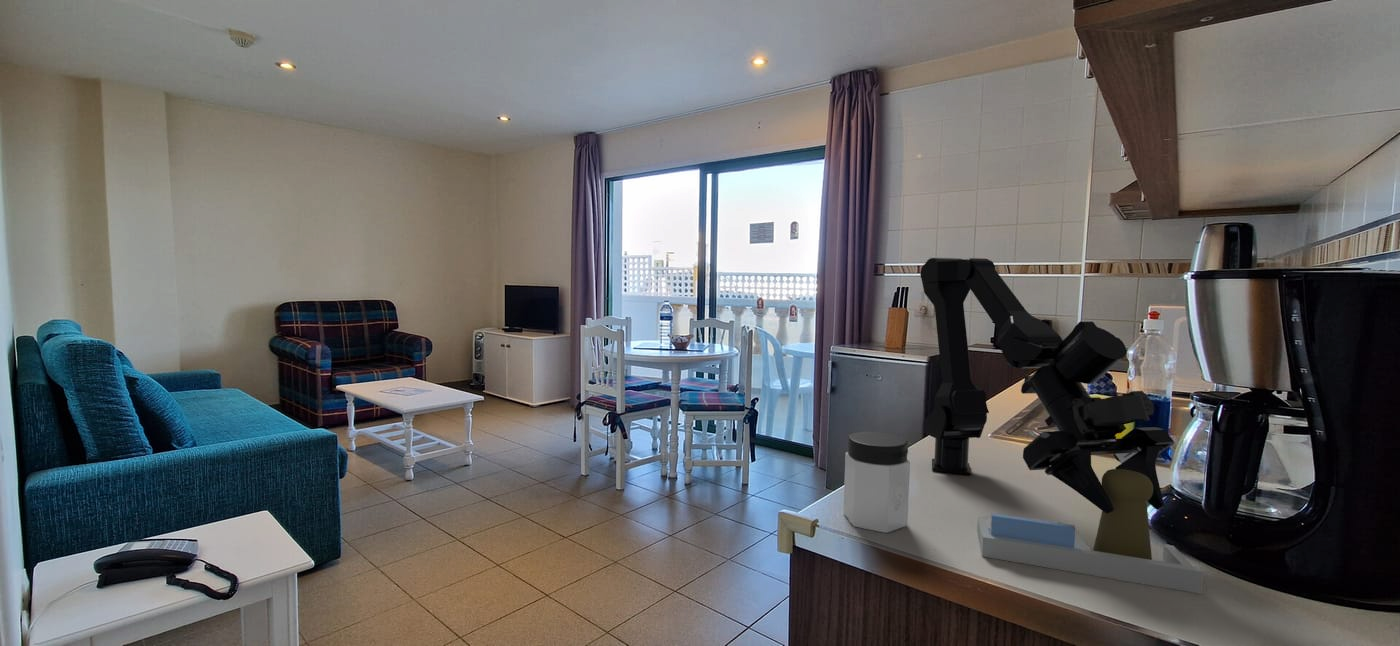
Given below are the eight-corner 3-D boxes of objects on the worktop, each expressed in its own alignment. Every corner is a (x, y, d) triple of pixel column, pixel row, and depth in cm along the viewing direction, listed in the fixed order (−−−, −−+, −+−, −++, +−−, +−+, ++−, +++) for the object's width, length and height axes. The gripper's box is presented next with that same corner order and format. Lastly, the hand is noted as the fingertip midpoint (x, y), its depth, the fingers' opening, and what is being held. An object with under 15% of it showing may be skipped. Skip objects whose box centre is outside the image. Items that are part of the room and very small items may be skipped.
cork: (1093, 541, 77) (1098, 461, 76) (1151, 554, 73) (1157, 470, 72) (1092, 558, 72) (1097, 473, 71) (1153, 573, 68) (1160, 483, 67)
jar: (877, 538, 77) (880, 450, 76) (832, 517, 84) (834, 436, 83) (918, 523, 82) (922, 441, 81) (872, 504, 88) (875, 428, 88)
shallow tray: (976, 528, 80) (978, 493, 80) (1169, 558, 72) (1172, 519, 72) (982, 556, 72) (984, 517, 72) (1200, 593, 64) (1204, 550, 63)
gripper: (1044, 370, 73) (1117, 485, 63) (1165, 368, 76) (1252, 476, 66) (997, 416, 81) (1055, 525, 71) (1108, 412, 85) (1178, 515, 75)
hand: (1135, 510), depth 71 cm, fingers open, 7 cm apart
